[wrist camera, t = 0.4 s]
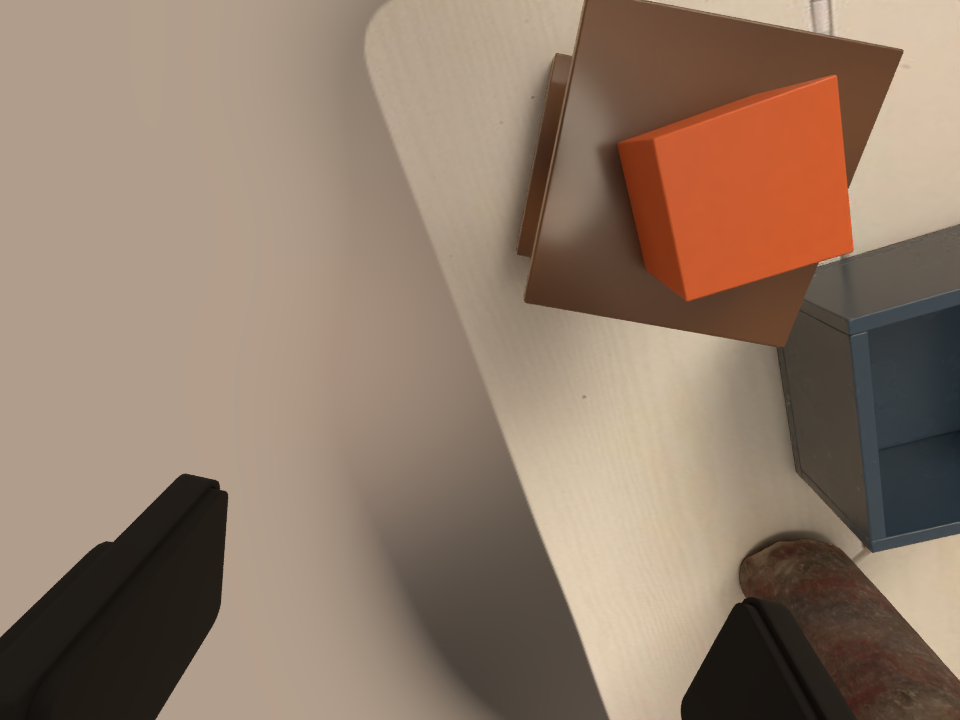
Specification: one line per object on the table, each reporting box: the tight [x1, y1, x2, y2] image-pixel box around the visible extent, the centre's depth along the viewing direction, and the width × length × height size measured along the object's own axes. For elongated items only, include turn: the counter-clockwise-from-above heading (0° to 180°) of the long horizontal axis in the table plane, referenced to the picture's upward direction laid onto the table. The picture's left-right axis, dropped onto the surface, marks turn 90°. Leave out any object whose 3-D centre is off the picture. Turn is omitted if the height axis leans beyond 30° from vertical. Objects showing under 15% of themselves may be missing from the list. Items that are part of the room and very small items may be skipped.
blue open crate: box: [777, 224, 960, 553], centre depth 28 cm, size 14×14×8 cm
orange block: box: [617, 75, 854, 301], centre depth 16 cm, size 4×4×4 cm
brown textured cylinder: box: [740, 539, 960, 720], centre depth 29 cm, size 8×7×20 cm
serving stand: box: [516, 0, 903, 348], centre depth 24 cm, size 10×10×12 cm
